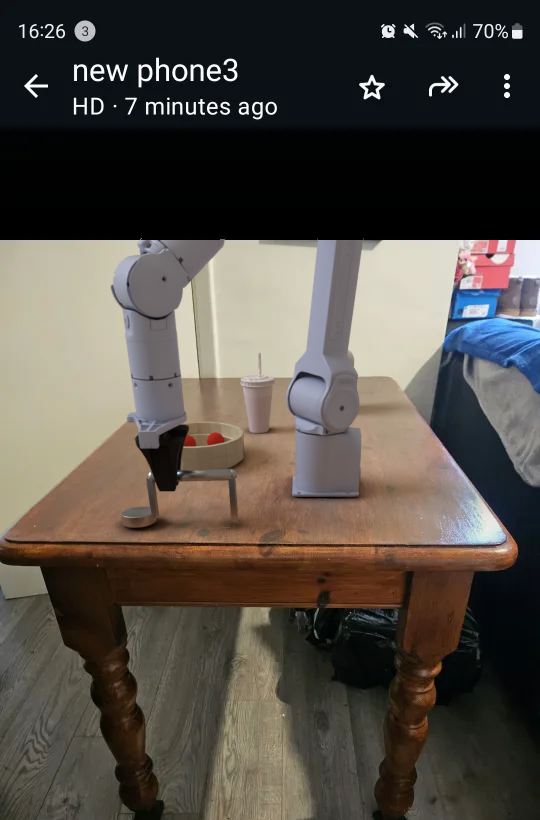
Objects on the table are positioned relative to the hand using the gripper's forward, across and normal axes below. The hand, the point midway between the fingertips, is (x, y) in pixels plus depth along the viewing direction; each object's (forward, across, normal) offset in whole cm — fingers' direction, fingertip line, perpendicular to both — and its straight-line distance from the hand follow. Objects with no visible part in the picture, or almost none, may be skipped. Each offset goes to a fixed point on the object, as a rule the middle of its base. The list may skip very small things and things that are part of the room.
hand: (169, 487), depth 74 cm
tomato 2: (+3, -29, +2) cm, 29 cm away
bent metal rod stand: (+4, +1, +1) cm, 5 cm away
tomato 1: (+3, -28, -3) cm, 28 cm away
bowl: (+5, -26, 0) cm, 26 cm away
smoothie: (+5, -44, +9) cm, 45 cm away
